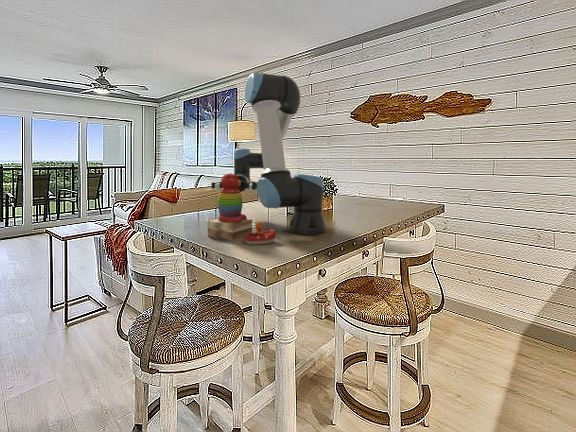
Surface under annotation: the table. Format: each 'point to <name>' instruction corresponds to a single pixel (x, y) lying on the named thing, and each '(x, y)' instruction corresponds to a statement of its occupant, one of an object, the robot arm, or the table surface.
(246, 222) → the pedestal
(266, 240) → the toy boat
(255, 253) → the table surface
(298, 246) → the table surface
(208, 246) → the table surface
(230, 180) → the stacking bear
